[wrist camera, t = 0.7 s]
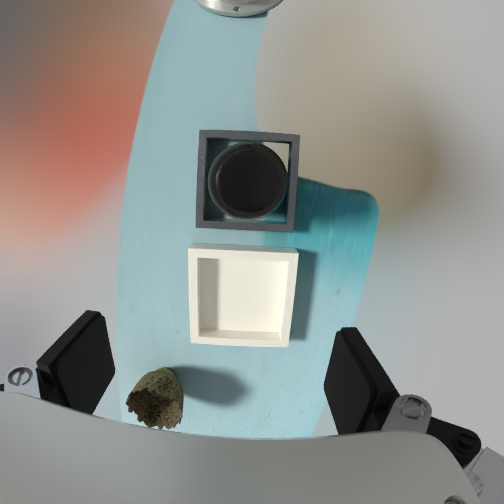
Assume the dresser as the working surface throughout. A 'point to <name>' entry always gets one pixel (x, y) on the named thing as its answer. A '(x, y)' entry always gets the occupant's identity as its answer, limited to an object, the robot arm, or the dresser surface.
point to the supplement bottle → (247, 181)
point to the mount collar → (235, 223)
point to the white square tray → (241, 294)
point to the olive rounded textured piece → (157, 399)
